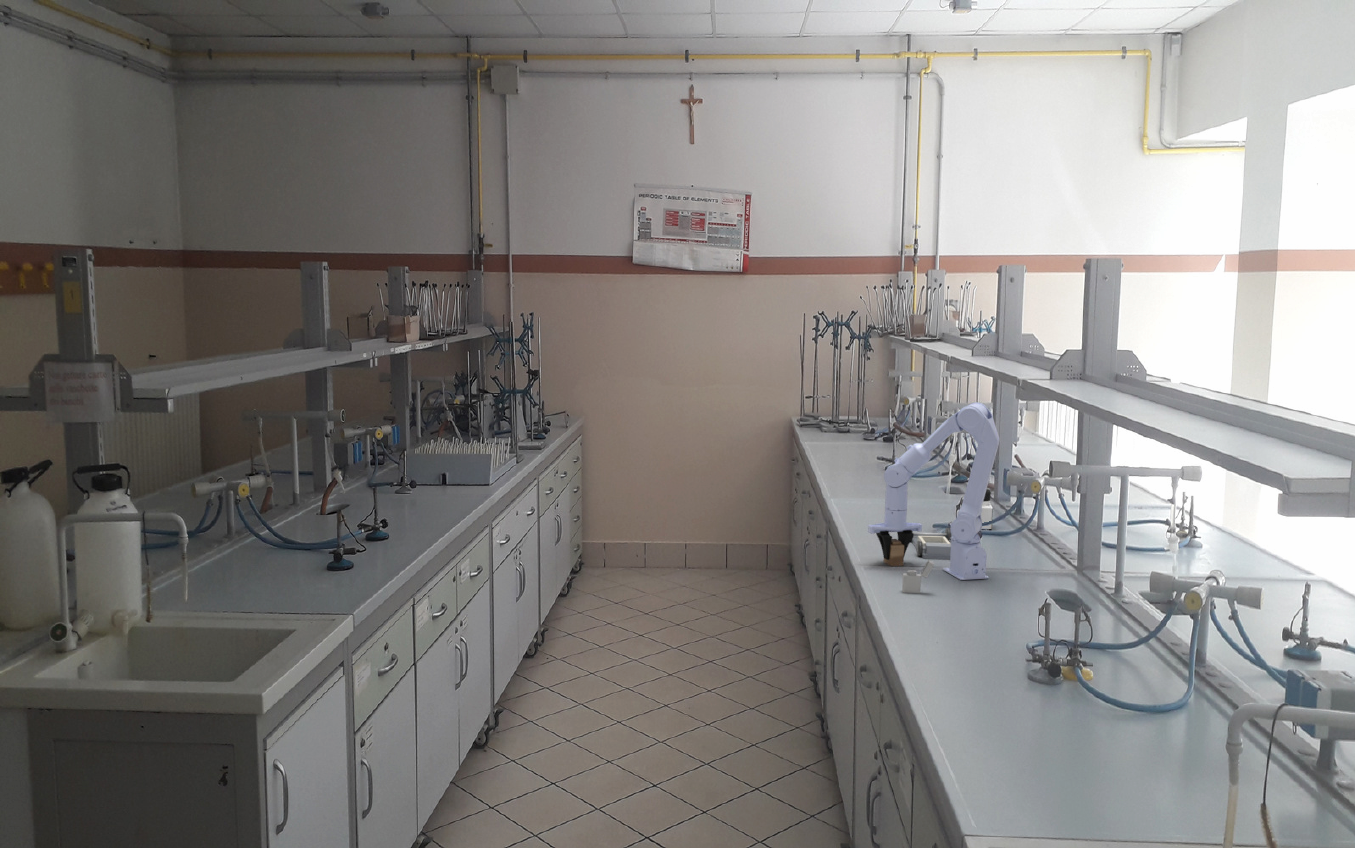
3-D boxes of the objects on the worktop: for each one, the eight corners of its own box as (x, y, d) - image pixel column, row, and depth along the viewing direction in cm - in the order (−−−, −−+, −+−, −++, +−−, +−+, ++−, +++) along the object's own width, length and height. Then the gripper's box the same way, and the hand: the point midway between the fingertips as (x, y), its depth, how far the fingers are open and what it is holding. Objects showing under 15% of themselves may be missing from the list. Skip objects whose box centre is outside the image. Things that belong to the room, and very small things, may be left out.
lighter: (902, 592, 232) (904, 560, 231) (902, 590, 234) (903, 558, 233) (933, 593, 232) (934, 561, 231) (931, 591, 233) (933, 559, 232)
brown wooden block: (903, 565, 255) (904, 542, 255) (890, 566, 255) (891, 542, 254) (896, 560, 260) (897, 538, 259) (883, 561, 259) (884, 538, 258)
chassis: (964, 559, 261) (964, 545, 261) (919, 558, 262) (920, 544, 262) (947, 539, 283) (947, 525, 283) (905, 537, 284) (906, 524, 283)
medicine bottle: (991, 530, 295) (994, 491, 293) (967, 528, 296) (969, 490, 294) (989, 524, 301) (991, 487, 300) (965, 523, 303) (967, 486, 301)
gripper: (914, 504, 261) (911, 552, 262) (864, 506, 257) (862, 555, 259) (926, 510, 254) (923, 560, 256) (875, 512, 251) (873, 562, 252)
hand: (893, 558), depth 257 cm, fingers closed on brown wooden block, 4 cm apart
